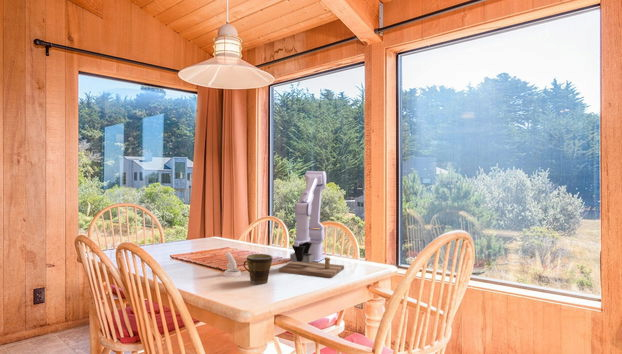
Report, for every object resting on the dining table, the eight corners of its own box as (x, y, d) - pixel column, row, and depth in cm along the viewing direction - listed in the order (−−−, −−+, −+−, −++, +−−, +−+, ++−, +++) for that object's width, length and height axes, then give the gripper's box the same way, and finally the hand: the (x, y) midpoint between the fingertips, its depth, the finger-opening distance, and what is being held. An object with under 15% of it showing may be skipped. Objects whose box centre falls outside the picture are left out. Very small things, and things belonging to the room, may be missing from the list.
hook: (213, 265, 160) (217, 253, 166) (224, 285, 167) (228, 272, 172) (230, 262, 159) (234, 250, 165) (241, 282, 165) (244, 270, 171)
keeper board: (295, 263, 191) (295, 250, 191) (344, 268, 182) (344, 255, 182) (278, 271, 174) (279, 257, 174) (331, 277, 165) (331, 263, 165)
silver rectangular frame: (295, 258, 184) (295, 252, 184) (313, 260, 181) (313, 254, 181) (290, 261, 179) (290, 254, 179) (309, 263, 176) (309, 256, 176)
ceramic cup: (259, 277, 164) (260, 252, 164) (277, 282, 157) (277, 256, 157) (234, 283, 154) (235, 257, 153) (252, 288, 147) (253, 261, 147)
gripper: (300, 227, 188) (300, 256, 188) (287, 230, 174) (287, 262, 175) (314, 228, 185) (314, 257, 186) (302, 232, 172) (302, 263, 172)
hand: (302, 259), depth 180 cm, fingers closed on silver rectangular frame, 6 cm apart
